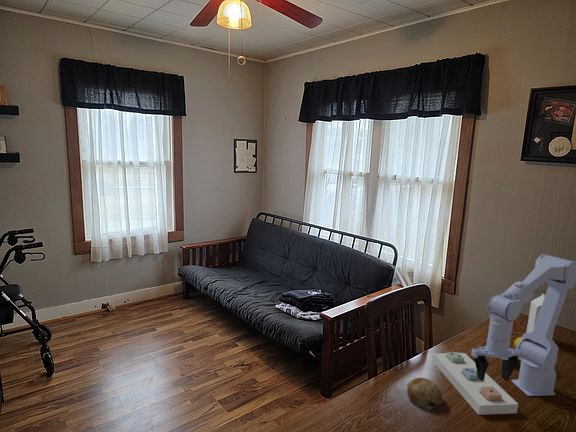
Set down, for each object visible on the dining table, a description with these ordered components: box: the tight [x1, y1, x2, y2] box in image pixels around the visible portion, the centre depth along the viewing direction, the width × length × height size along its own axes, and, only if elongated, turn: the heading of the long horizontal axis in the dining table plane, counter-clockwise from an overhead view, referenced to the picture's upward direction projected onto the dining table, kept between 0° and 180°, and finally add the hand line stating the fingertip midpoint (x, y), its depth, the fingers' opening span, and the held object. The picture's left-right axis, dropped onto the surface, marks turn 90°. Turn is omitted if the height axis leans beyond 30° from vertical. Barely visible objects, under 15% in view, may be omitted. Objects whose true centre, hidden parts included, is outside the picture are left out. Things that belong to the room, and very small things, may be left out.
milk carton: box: [525, 292, 555, 343], centre depth 153 cm, size 7×7×19 cm
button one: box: [480, 387, 502, 401], centre depth 112 cm, size 4×4×3 cm
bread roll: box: [406, 377, 443, 410], centre depth 114 cm, size 10×10×8 cm
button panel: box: [432, 352, 519, 416], centre depth 123 cm, size 12×28×3 cm, turn 6°
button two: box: [446, 351, 464, 363], centre depth 132 cm, size 4×4×3 cm
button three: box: [462, 368, 480, 381], centre depth 122 cm, size 4×4×3 cm
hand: (492, 378), depth 112 cm, fingers open, 7 cm apart
